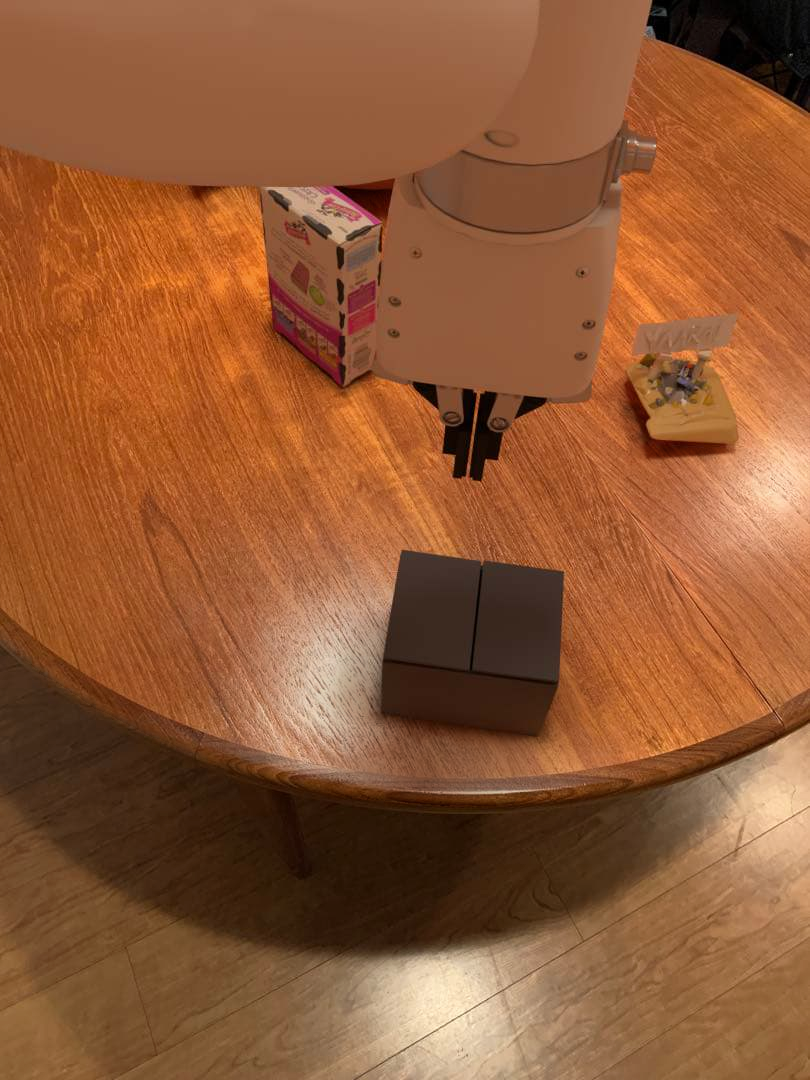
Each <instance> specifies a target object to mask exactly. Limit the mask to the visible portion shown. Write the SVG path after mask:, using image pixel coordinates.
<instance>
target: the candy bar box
mask: <svg viewBox="0 0 810 1080" xmlns="http://www.w3.org/2000/svg"><path fill="white" fill-rule="evenodd" d="M258 189H259V200H260V209H261V219H262V230H263V241H264V250H265V260H266V270H267V278H268V286H269V287H268V290H269V300H270V310H271V319H272V328H273V330H275V331H276V332H277V334H279V335H281V336H282V337H283V338H284V339H285V340H286V341H288V342H289V343H290V344H291V345H292V346H294V347H295V348H296V349H297V350H298V351H299V352H300V353H302V354H303V355H304V356H305V357H306V358H308V359H309V360H310V361H311V362H312V363H314V365H316V366H317V367H318V368H320V369H321V370H322V371H323V372H324V373H325V374H326V375H327V376H329V378H331V379H332V380H333V381H335V382H336V383H337V384H338V385H339V386H340V387H342V388H345V387H347V386H349V385H351V384H352V383H354V382H356V381H357V380H359V379H361V378H362V377H365V376H366V375H368V374H369V373H373V372H372V364H373V360H374V355H375V351H376V333H377V314H378V300H379V288H380V278H381V268H382V259H383V225H384V224H383V221H381V220H380V219H379V218H378V217H376V216H374V215H373V214H372V213H371V212H369V211H368V210H366V209H365V208H363V207H362V206H361V205H359V204H358V203H357V202H355V201H354V200H352V199H351V198H349V197H348V196H347V195H345V194H344V193H343V192H341V191H340V190H338V189H337V188H335V186H325V187H258Z"/></svg>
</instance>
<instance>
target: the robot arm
mask: <svg viewBox="0 0 810 1080" xmlns="http://www.w3.org/2000/svg"><path fill="white" fill-rule="evenodd" d="M652 4H653V0H0V146H2V147H4V148H6V149H10V150H14V151H16V152H19V153H22V154H24V155H28V156H30V157H35V158H39V159H42V160H45V161H49V162H51V163H55V164H59V165H62V166H65V167H69V168H74V169H78V170H82V171H86V172H91V173H94V174H95V173H96V174H101V175H104V176H109V177H116V178H122V179H129V180H135V181H139V182H140V181H141V182H147V183H148V182H149V183H155V184H156V183H157V184H167V185H179V186H180V185H181V186H195V187H196V186H198V187H201V186H206V187H242V188H243V187H246V188H247V187H248V188H249V187H250V188H251V187H252V188H253V187H254V188H255V187H256V188H259V187H325V186H332V187H341V186H343V185H358V184H365V183H371V182H376V181H382V180H387V179H393V178H395V182H394V186H393V189H392V192H391V197H390V201H389V207H388V213H387V214H388V215H387V221H386V226H385V227H386V228H385V236H384V244H383V249H382V259H381V261H382V263H381V278H380V288H379V300H378V314H377V333H376V351H375V355H374V360H373V364H372V372H371V373H372V374H373V375H374V376H375V377H377V378H379V379H383V380H387V381H390V382H393V383H397V384H400V385H404V386H406V387H408V385H409V386H412V388H413V390H415V391H416V392H417V393H418V394H419V395H420V396H421V397H423V398H424V399H425V400H426V401H427V402H428V403H429V404H430V405H432V406H433V407H434V408H435V409H436V410H437V411H438V414H439V420H440V423H442V424H443V425H444V434H443V442H442V453H441V454H443V455H448V456H449V455H450V456H454V462H453V471H452V479H460V480H463V478H466V477H467V471H468V465H469V457H470V450H471V457H470V465H469V472H468V473H469V474H468V478H470V479H471V481H474V482H482V481H483V476H484V470H485V465H486V464H485V463H486V460H490V461H495V462H496V461H499V457H500V452H501V445H502V440H503V435H504V433H505V432H508V431H509V430H510V429H511V427H512V425H513V423H514V421H515V420H516V419H518V418H521V417H522V416H525V415H527V414H529V413H531V412H533V411H535V410H537V409H539V408H541V407H543V406H545V405H546V403H550V404H551V405H553V404H554V405H555V404H556V405H557V404H577V403H578V404H579V403H586V402H588V401H589V400H590V399H592V391H593V390H592V389H593V376H594V373H595V370H596V367H597V364H598V359H599V354H600V350H601V346H602V341H603V336H604V332H605V327H606V322H607V316H608V312H609V307H610V302H611V296H612V292H613V291H612V289H613V285H614V279H615V269H616V261H617V253H618V245H619V244H618V243H619V236H620V230H621V229H620V228H621V226H622V211H623V209H622V208H623V182H622V180H621V177H620V176H623V177H629V176H630V175H631V173H632V174H640V175H651V172H652V171H653V167H654V163H655V159H656V154H657V148H658V137H657V136H652V135H651V136H650V135H644V134H643V135H641V134H639V131H638V130H632V129H629V120H627V119H626V120H625V119H624V118H625V113H626V109H627V106H628V101H629V98H630V93H631V88H632V85H633V81H634V77H635V73H636V69H637V64H638V61H639V56H640V52H641V49H642V44H643V40H644V37H645V33H646V29H647V24H648V20H649V17H650V11H651V7H652ZM475 391H481V392H482V393H479V399H478V406H477V397H478V392H475ZM476 406H477V413H476ZM475 414H476V420H475ZM474 420H475V421H474ZM474 422H475V427H474ZM474 428H475V429H474ZM473 429H474V433H473ZM472 436H473V437H472ZM472 438H473V441H472ZM471 443H472V449H471Z"/></svg>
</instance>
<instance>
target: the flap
mask: <svg viewBox="0 0 810 1080" xmlns="http://www.w3.org/2000/svg"><path fill="white" fill-rule="evenodd" d="M400 555H401V557H400V556H399V560H400V563H399V562H398V566H399V569H398V568H397V572H398V575H397V574H396V578H397V581H396V580H395V584H396V586H395V585H394V590H395V592H394V591H393V595H394V598H393V597H392V601H393V604H392V603H391V607H392V610H391V609H390V613H391V616H390V615H389V619H390V622H389V621H388V625H389V628H388V627H387V631H388V634H387V633H386V637H387V640H386V639H385V643H386V646H385V645H384V649H385V652H384V651H383V655H384V659H390V660H396V661H403V662H410V663H416V664H423V665H430V666H436V667H443V668H450V669H456V670H463V671H469V670H470V662H471V652H472V643H473V634H474V625H475V615H476V606H477V597H478V588H479V578H480V569H481V565H482V561H481V560H476V559H470V558H462V557H455V556H448V555H441V554H435V553H427V552H421V551H414V550H407V549H401V552H400Z"/></svg>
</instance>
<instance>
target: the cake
mask: <svg viewBox="0 0 810 1080" xmlns="http://www.w3.org/2000/svg"><path fill="white" fill-rule="evenodd" d="M739 314H740V312H732V313H728V314H721V315H708V316H701V317H690V318H685V319H679V320H670V321H662V322H653V323H638V326H637V330H636V335H635V339H634V343H633V347H632V351H631V356H632V357H635V356H640V355H644V356H643V357H642V358H641V359H639V360H637V361H634V362H632V363H630V364H629V365H628V366H627V367H626V368H625V369H624V374H626V375H627V376H628V379H629V380H630V382H631V384H632V388H633V389H634V391H635V393H636V395H637V397H638V400H639V401H640V403H641V405H639V406H638V407H639V408H640V407H641V406H642V407H643V409H644V410H645V412H646V413H647V416H648V417H649V418H648V419H647V420H646V422H645V427H646V430H647V432H648V435H649V437H650V438H651V439H653V440H657V441H674V442H693V443H707V444H708V443H711V444H728V445H731V444H736V443H737V442H738V441H739V438H740V437H739V429H738V428H739V427H738V422H737V417H736V413H735V410H734V408H733V405H732V403H731V401H730V399H729V396H728V394H727V392H726V389H725V387H724V384H723V382H722V380H721V377H720V376H719V374H718V373H717V372H716V370H714V369H713V368H712V367H711V366H709V365H707V364H706V362H709V363H710V362H712V361H711V356H712V355H713V353H714V350H712V349H718V348H726V347H729V345H730V343H731V339H732V336H733V333H734V329H735V326H736V324H737V320H738V317H739ZM687 351H697V353H696V358H697V360H689V359H685V358H680V357H679V358H674V356H673V354H672V353H682V352H687ZM508 442H509V439H505V440H504V443H508Z"/></svg>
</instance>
